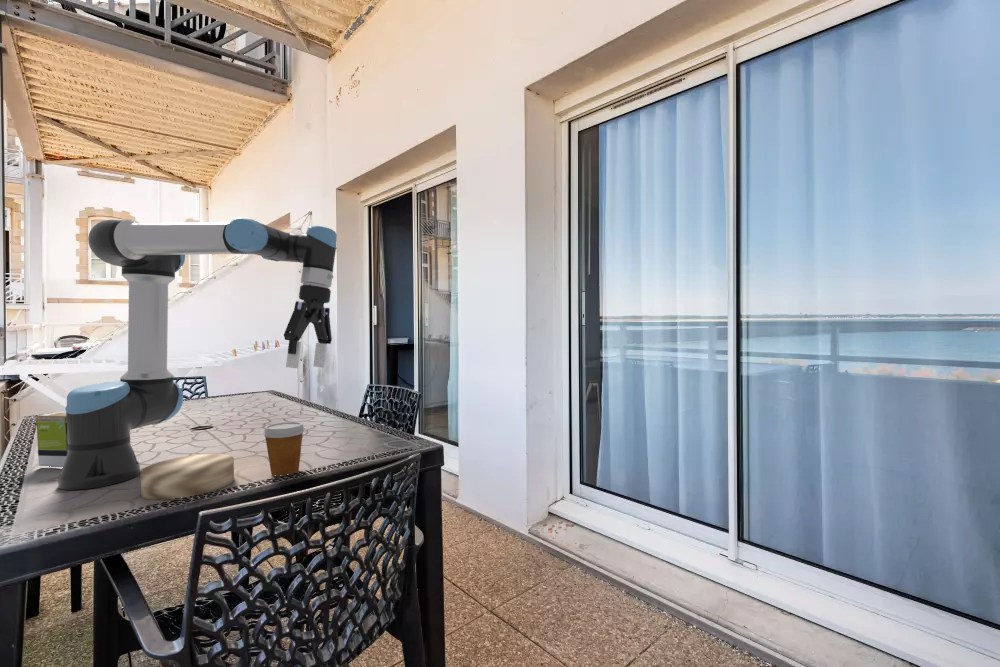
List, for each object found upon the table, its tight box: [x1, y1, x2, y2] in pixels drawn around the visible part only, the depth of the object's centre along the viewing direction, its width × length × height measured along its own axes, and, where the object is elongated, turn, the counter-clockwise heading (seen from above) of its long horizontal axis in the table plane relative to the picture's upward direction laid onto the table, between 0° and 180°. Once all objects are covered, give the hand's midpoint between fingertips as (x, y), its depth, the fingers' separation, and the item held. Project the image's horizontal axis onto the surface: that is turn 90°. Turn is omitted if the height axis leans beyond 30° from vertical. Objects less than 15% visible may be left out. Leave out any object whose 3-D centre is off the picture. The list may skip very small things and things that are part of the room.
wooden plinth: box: [139, 453, 235, 501], centre depth 107 cm, size 18×18×5 cm
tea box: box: [35, 410, 68, 467], centre depth 130 cm, size 15×10×15 cm
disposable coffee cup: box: [262, 421, 305, 477], centre depth 116 cm, size 10×10×12 cm
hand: (306, 367), depth 119 cm, fingers open, 13 cm apart
